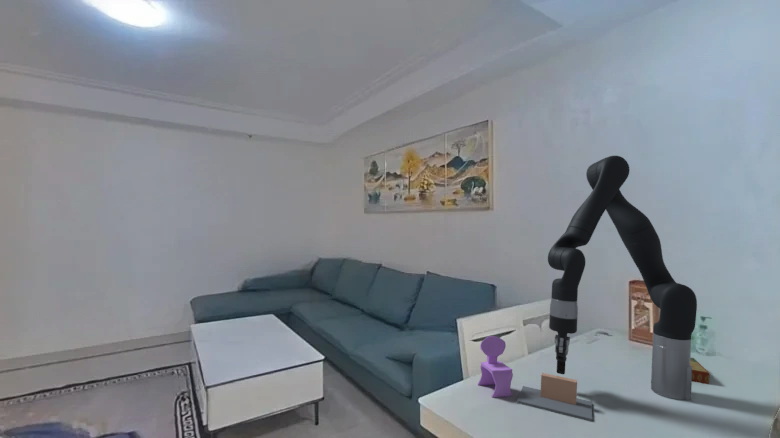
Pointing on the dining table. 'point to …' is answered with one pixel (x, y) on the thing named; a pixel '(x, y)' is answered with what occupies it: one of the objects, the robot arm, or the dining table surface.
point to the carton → (699, 372)
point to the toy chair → (495, 367)
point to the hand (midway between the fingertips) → (560, 372)
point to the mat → (555, 404)
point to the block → (558, 388)
